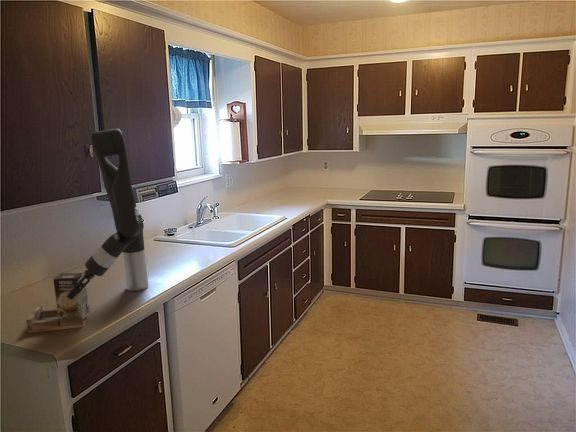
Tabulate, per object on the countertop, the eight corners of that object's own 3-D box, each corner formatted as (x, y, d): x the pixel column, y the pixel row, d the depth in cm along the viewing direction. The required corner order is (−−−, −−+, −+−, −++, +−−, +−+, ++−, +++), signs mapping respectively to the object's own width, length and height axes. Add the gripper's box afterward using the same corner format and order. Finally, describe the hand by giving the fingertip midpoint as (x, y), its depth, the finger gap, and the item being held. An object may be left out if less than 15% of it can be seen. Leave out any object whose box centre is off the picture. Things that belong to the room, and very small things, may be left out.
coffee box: (57, 321, 160) (51, 279, 157) (66, 313, 166) (60, 273, 163) (83, 319, 160) (77, 277, 157) (90, 312, 166) (85, 272, 163)
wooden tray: (39, 318, 166) (37, 306, 165) (90, 313, 170) (88, 300, 169) (28, 333, 155) (26, 320, 154) (83, 326, 159) (81, 314, 158)
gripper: (96, 248, 167) (68, 281, 167) (88, 260, 153) (57, 295, 153) (113, 260, 169) (84, 292, 169) (106, 272, 155) (76, 307, 155)
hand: (71, 293), depth 161 cm, fingers closed on coffee box, 7 cm apart
